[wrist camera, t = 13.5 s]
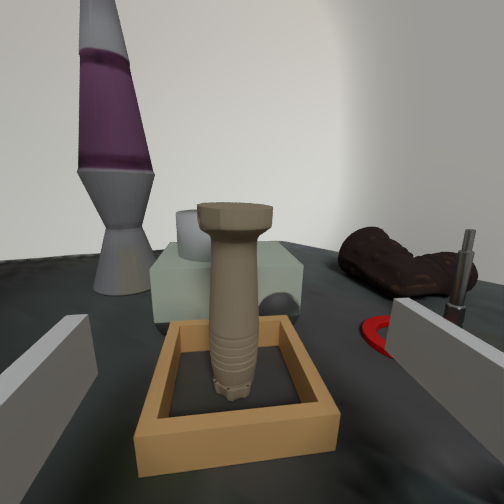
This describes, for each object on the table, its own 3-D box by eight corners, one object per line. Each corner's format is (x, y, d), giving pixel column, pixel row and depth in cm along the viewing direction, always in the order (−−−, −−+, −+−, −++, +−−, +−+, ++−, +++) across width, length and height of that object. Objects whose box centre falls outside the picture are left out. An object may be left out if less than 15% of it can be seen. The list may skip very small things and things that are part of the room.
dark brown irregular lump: (494, 254, 36) (406, 221, 49) (416, 269, 31) (341, 229, 44) (467, 308, 40) (393, 265, 53) (395, 328, 36) (332, 276, 48)
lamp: (173, 272, 47) (156, 14, 36) (147, 297, 37) (113, -53, 26) (117, 270, 47) (85, 15, 37) (76, 294, 37) (15, -51, 26)
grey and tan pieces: (101, 482, 14) (59, 263, 11) (173, 292, 38) (167, 207, 35) (364, 446, 16) (399, 256, 13) (274, 289, 41) (278, 208, 37)
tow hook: (366, 360, 25) (477, 379, 22) (379, 234, 22) (511, 238, 19) (358, 319, 33) (440, 329, 30) (366, 222, 30) (459, 223, 27)
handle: (213, 431, 17) (208, 210, 13) (198, 368, 23) (191, 202, 19) (276, 410, 19) (288, 209, 15) (248, 357, 25) (251, 202, 21)
